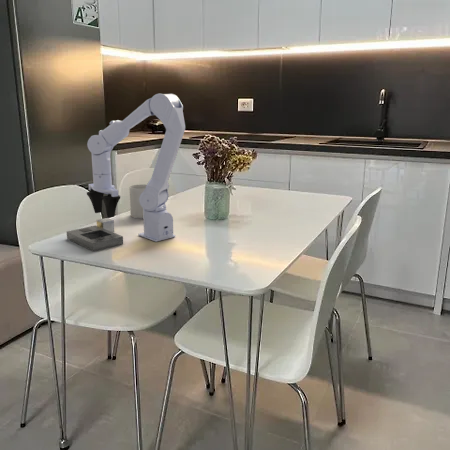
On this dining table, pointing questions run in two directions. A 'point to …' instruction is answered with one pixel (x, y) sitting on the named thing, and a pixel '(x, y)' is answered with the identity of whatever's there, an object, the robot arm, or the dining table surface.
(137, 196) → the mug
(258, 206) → the dining table surface
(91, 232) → the grey recessed tray
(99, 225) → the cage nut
